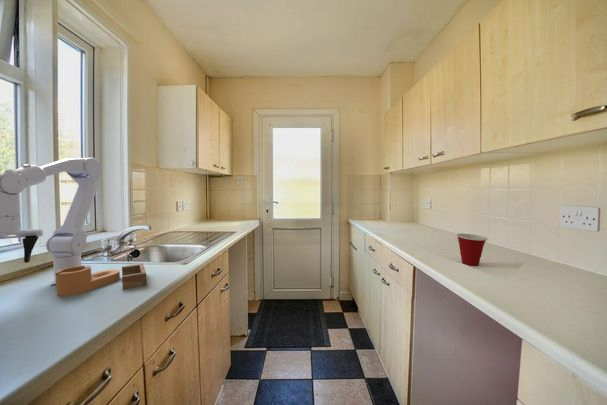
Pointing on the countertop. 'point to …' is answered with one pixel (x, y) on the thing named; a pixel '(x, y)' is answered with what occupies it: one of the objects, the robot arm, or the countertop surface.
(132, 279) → the jig
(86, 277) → the bracket
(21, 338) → the countertop surface
